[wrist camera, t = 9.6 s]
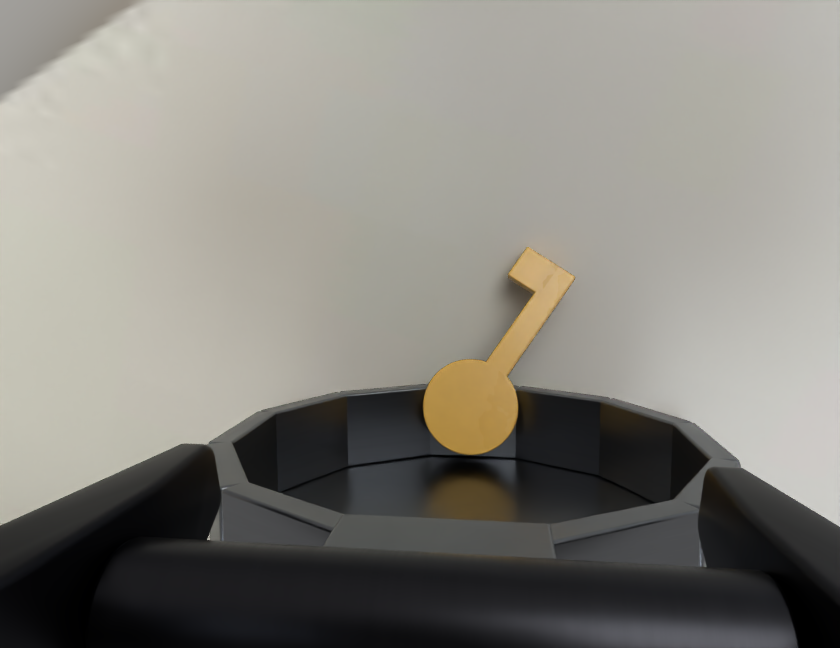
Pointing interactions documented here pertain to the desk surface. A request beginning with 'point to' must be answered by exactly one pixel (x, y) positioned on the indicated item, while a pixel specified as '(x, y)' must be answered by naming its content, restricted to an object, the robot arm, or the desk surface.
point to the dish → (445, 538)
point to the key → (493, 369)
